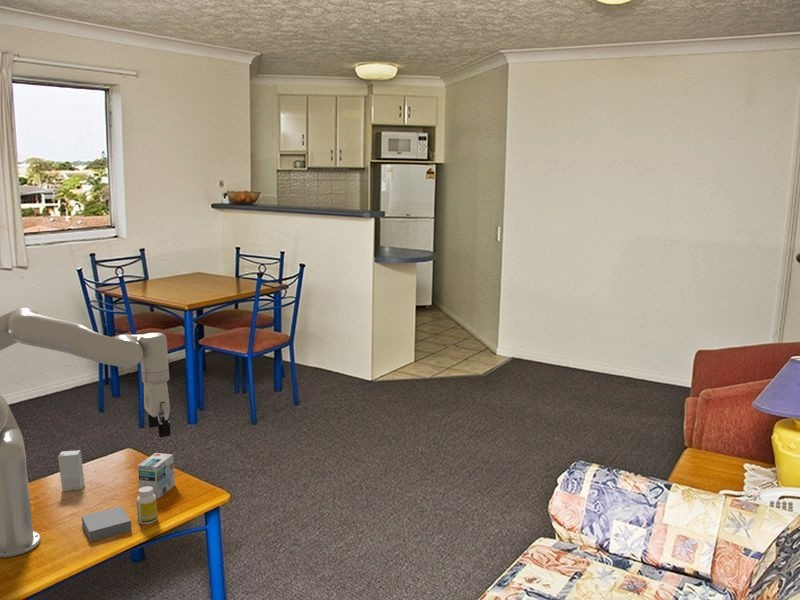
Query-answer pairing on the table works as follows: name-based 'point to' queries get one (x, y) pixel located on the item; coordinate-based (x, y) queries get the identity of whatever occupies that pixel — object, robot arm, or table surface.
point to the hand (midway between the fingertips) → (159, 431)
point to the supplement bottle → (146, 506)
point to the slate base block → (106, 523)
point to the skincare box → (71, 470)
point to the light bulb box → (157, 473)
